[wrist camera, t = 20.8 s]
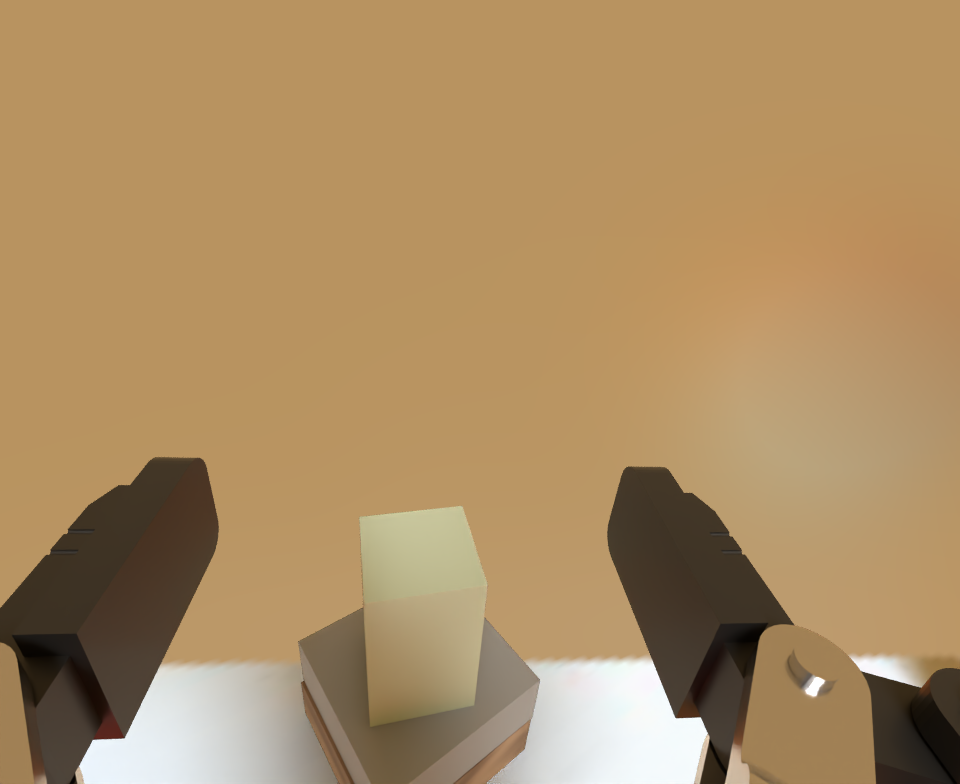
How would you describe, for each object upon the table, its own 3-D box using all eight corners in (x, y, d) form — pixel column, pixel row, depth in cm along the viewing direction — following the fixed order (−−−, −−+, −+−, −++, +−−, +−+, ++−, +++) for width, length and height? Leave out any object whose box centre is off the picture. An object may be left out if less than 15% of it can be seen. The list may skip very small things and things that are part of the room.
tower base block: (382, 878, 29) (381, 845, 27) (306, 716, 36) (301, 682, 35) (523, 752, 35) (530, 719, 34) (434, 636, 43) (436, 604, 41)
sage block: (369, 727, 29) (364, 603, 24) (364, 633, 34) (359, 517, 29) (474, 705, 30) (487, 585, 25) (453, 619, 35) (462, 505, 31)
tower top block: (383, 842, 27) (381, 804, 25) (303, 679, 35) (298, 641, 33) (532, 717, 34) (540, 680, 32) (438, 602, 41) (440, 566, 39)
